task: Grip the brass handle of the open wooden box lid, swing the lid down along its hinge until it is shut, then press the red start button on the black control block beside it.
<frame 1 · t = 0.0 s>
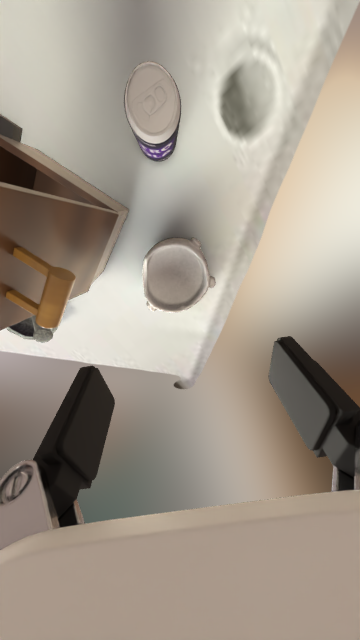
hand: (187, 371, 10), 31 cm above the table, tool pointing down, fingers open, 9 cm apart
beverage can: (157, 138, 28), on the table
mortar and pestle: (50, 302, 41), on the table
wooden box lid: (80, 273, 20), point 18 cm above the table, hinge at 75.0°
dish: (175, 271, 39), on the table
brown open box: (75, 219, 33), on the table
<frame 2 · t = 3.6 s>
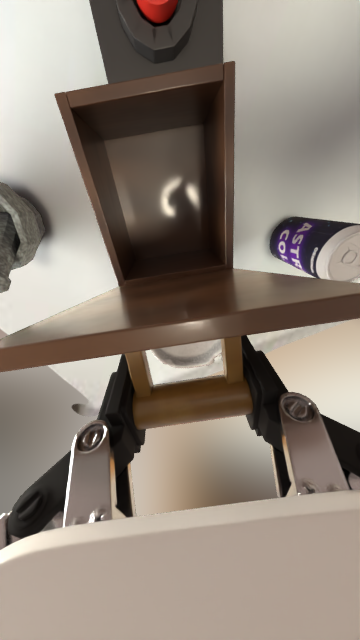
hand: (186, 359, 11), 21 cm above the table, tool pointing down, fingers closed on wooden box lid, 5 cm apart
beverage can: (285, 237, 28), on the table
mortar and pestle: (24, 225, 25), on the table
wooden box lid: (181, 324, 14), point 18 cm above the table, hinge at 75.0°, touching gripper
dish: (189, 325, 35), on the table
brown open box: (164, 202, 25), on the table
control block: (159, 36, 18), on the table
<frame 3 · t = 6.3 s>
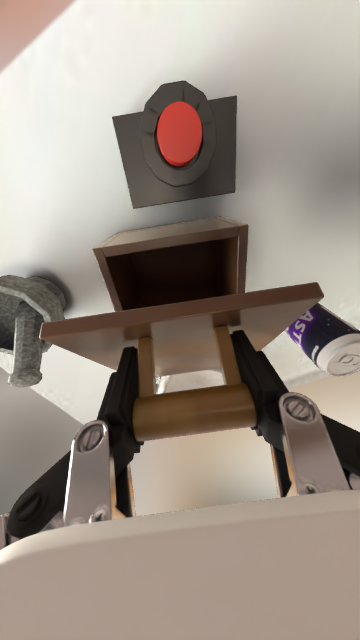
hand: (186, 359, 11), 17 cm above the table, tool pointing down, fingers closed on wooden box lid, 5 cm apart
beverage can: (288, 306, 30), on the table
mortar and pestle: (47, 300, 27), on the table
wooden box lid: (190, 382, 14), point 16 cm above the table, hinge at 33.1°, touching gripper
start button: (179, 137, 16), point 4 cm above the table, slide at 0.1 cm
dish: (196, 375, 37), on the table
brown open box: (177, 281, 27), on the table
control block: (178, 161, 20), on the table
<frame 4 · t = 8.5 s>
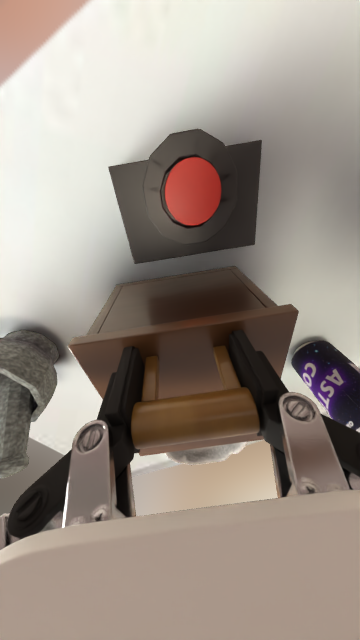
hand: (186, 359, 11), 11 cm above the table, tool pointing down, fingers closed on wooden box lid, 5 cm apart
beverage can: (307, 351, 27), on the table
mortar and pestle: (38, 352, 24), on the table
wooden box lid: (198, 433, 13), point 12 cm above the table, hinge at 2.8°, touching gripper
start button: (191, 194, 13), point 4 cm above the table, slide at 0.1 cm
dish: (203, 417, 34), on the table
brown open box: (184, 331, 24), on the table
control block: (187, 209, 17), on the table
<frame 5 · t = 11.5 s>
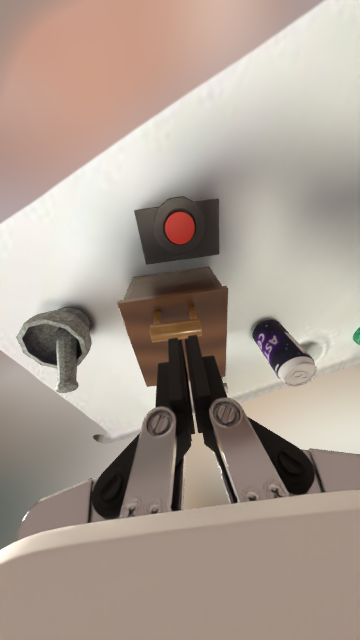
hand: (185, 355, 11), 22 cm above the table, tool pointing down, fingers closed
beverage can: (264, 328, 38), on the table
mortar and pestle: (75, 324, 35), on the table
wooden box lid: (181, 356, 24), point 12 cm above the table, hinge at 2.7°
start button: (179, 228, 24), point 4 cm above the table, slide at 0.1 cm
brown open box: (177, 310, 34), on the table
control block: (179, 232, 27), on the table
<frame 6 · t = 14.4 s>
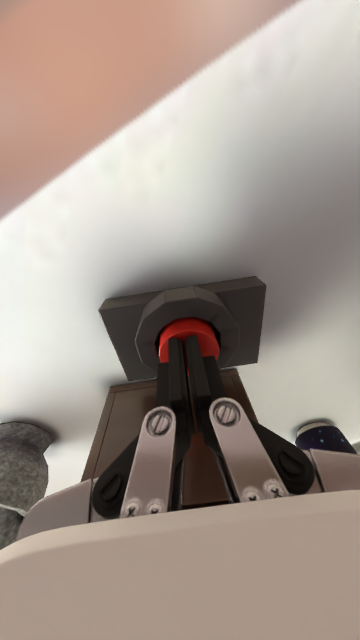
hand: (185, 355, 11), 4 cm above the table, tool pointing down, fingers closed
beverage can: (311, 428, 26), on the table
mortar and pestle: (29, 437, 23), on the table
start button: (188, 345, 12), point 3 cm above the table, slide at -0.4 cm, touching gripper
brown open box: (182, 418, 22), on the table
control block: (185, 327, 15), on the table
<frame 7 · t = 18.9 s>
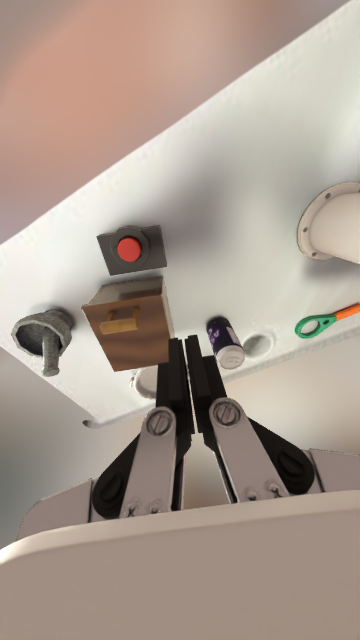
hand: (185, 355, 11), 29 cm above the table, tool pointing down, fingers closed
beverage can: (217, 324, 46), on the table
mortar and pestle: (60, 323, 43), on the table
wooden box lid: (133, 345, 32), point 12 cm above the table, hinge at 2.7°
start button: (129, 249, 31), point 4 cm above the table, slide at 0.1 cm
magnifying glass: (324, 318, 47), on the table
dish: (162, 370, 53), on the table
brown open box: (141, 311, 42), on the table
control block: (134, 250, 35), on the table
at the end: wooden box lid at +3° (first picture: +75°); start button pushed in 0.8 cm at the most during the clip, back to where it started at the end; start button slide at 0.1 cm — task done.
